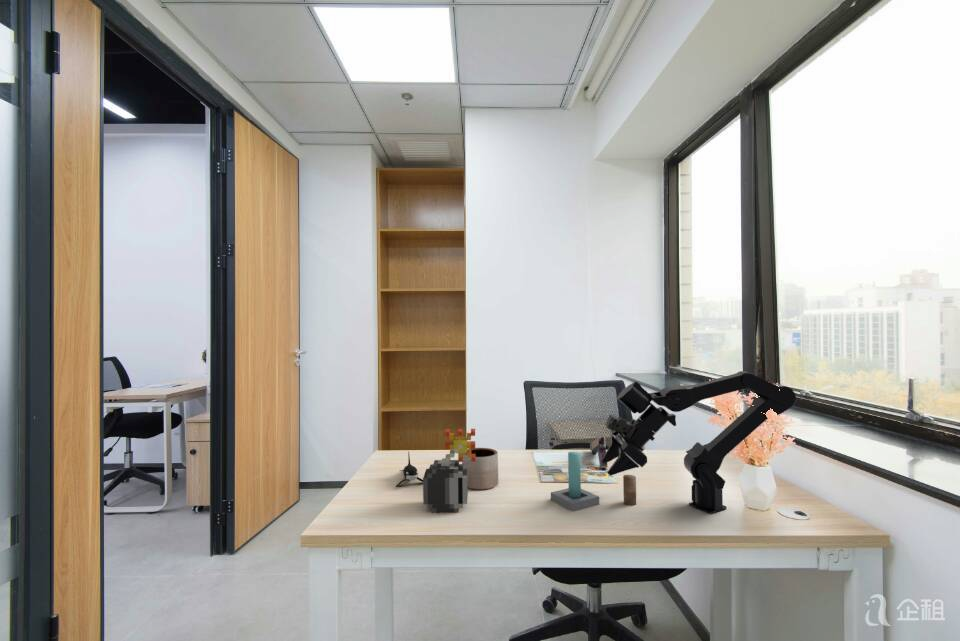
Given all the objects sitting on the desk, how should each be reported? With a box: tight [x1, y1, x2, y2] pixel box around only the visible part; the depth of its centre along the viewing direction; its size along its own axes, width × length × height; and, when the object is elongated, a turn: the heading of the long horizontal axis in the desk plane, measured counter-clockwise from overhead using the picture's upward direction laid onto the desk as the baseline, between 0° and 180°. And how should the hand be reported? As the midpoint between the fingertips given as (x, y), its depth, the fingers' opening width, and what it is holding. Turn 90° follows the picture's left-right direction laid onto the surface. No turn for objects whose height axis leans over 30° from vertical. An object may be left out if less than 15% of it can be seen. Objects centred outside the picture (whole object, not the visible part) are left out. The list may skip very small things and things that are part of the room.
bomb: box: [422, 428, 476, 514], centre depth 120 cm, size 8×13×20 cm, turn 90°
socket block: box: [550, 487, 600, 512], centre depth 122 cm, size 9×9×2 cm
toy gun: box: [589, 435, 608, 469], centre depth 160 cm, size 2×21×10 cm, turn 175°
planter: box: [461, 447, 499, 491], centre depth 137 cm, size 11×11×10 cm
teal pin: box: [567, 451, 582, 500], centre depth 122 cm, size 3×3×13 cm
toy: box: [395, 450, 423, 487], centre depth 143 cm, size 21×10×10 cm, turn 16°
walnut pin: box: [622, 474, 637, 507], centre depth 121 cm, size 3×3×7 cm
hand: (605, 467), depth 122 cm, fingers open, 9 cm apart
